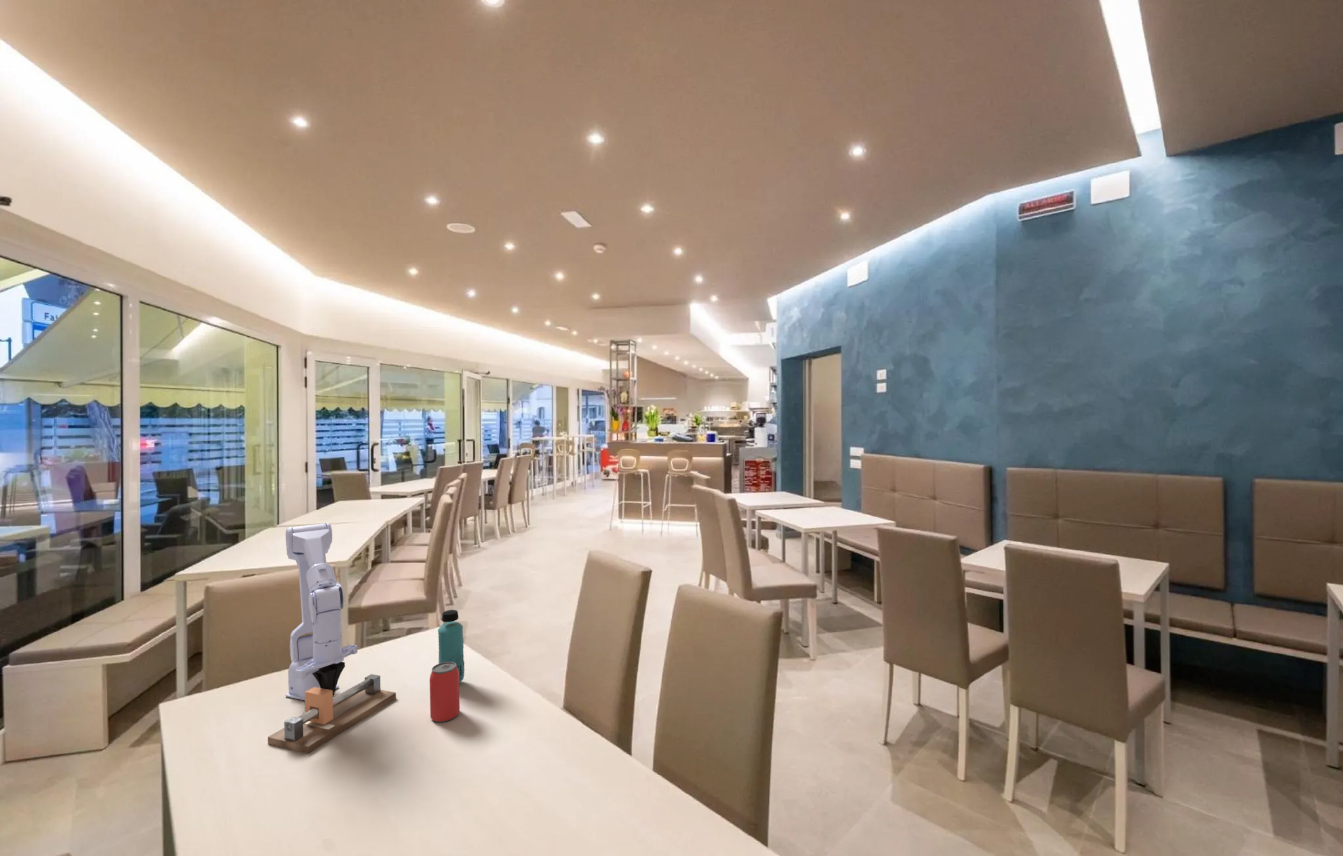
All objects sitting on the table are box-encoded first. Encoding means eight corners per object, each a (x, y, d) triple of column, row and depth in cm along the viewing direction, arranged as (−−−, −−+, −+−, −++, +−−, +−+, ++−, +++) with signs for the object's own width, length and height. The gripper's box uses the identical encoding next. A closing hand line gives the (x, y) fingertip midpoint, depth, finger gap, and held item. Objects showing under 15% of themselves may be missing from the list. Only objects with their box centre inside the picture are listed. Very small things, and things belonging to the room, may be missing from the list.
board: (267, 743, 121) (267, 736, 121) (359, 691, 144) (359, 685, 144) (307, 753, 117) (307, 746, 117) (395, 698, 140) (395, 692, 140)
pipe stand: (284, 739, 120) (284, 721, 120) (371, 689, 142) (371, 674, 142) (294, 741, 119) (294, 723, 119) (380, 690, 141) (380, 675, 141)
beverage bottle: (455, 692, 143) (454, 616, 143) (433, 689, 144) (431, 615, 144) (469, 680, 149) (468, 608, 149) (448, 678, 151) (446, 606, 150)
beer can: (464, 709, 135) (463, 661, 134) (451, 724, 128) (450, 673, 128) (439, 708, 135) (438, 660, 135) (424, 722, 129) (423, 672, 129)
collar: (305, 720, 126) (304, 691, 126) (315, 715, 128) (314, 686, 128) (323, 724, 124) (322, 695, 124) (333, 718, 127) (332, 690, 127)
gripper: (311, 653, 120) (312, 714, 121) (366, 628, 134) (367, 683, 134) (287, 649, 122) (289, 709, 123) (344, 625, 136) (345, 679, 137)
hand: (328, 695), depth 129 cm, fingers closed
